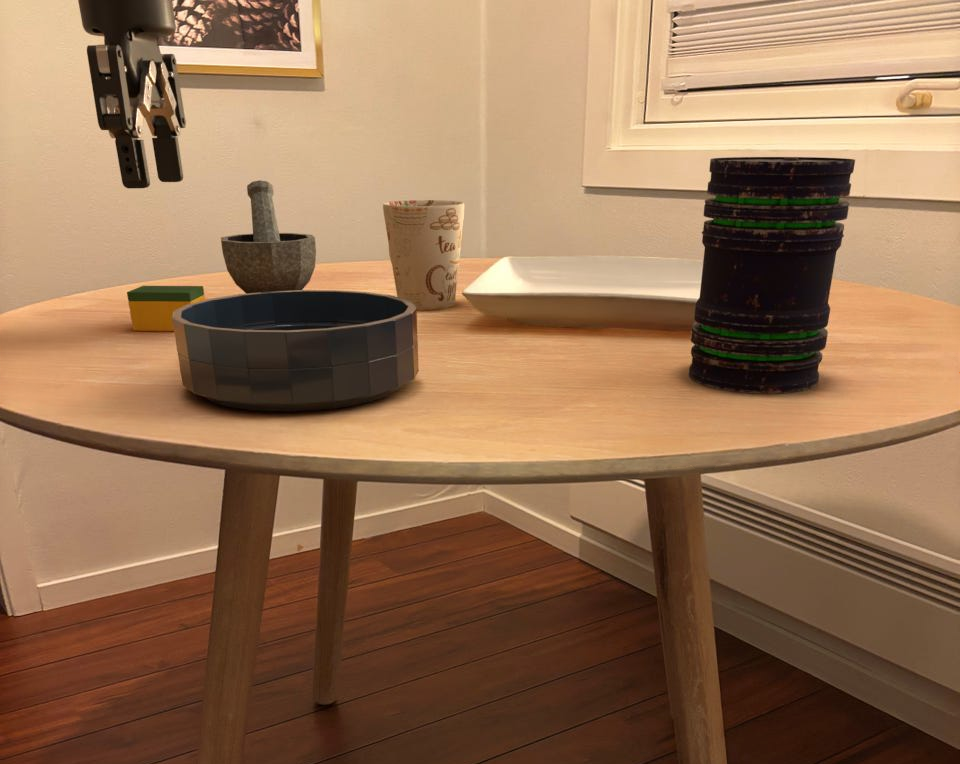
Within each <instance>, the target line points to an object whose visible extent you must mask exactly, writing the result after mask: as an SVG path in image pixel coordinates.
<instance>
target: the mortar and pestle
mask: <svg viewBox="0 0 960 764" xmlns="http://www.w3.org/2000/svg"><path fill="white" fill-rule="evenodd" d="M246 191H247V197H248V198H249V199H250V207H251V208H250V210H251V221H252V222H251V223H252V233H242V234H233V235H228V236H222V237H220V243H221V250H222V256H223V259H224V263H225V266H226V270H227V273H229V276H230V278H231V279H232V281H233V282H234V284H235V285H236V286H237V287H238V288H239V289H240V290H242V291H243V292H244V294H248V293H259V292H271V291H293V290H304V289H305V288H306V286H307V285H308V284H309V283H310V282H311V279H312V276H313V273H314V271H315V268H316V261H317V260H316V259H317V258H316V257H317V247H316V237H315V236H314V235H313V234H309V233H308V234H307V233H298V232H297V233H296V232H280V231H279V226H278V221H277V215H276V210H275V205H274V200H273V197H274V185H273V184H272V183H270V182H268V181H267V180H260V179H259V180H254V181H251V182H250V183H249V184H247V185H246Z"/></svg>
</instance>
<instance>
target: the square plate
mask: <svg viewBox="0 0 960 764" xmlns="http://www.w3.org/2000/svg"><path fill="white" fill-rule="evenodd" d="M703 260H704V259H691V258H675V257H673V258H672V257H660V256H659V257H657V256H635V255H634V256H633V255H632V256H629V255H555V256H554V255H552V256H551V255H549V256H547V255H546V256H504V257H502V258H500V259H499V260H498V261H495V262H494V263H493V264H492V265H490V266H489V267H487V269H486V270H484V271H483V272H482V273H481V274H480V275H479V276H477V277H476V278H475V279H474V280H473V281H471V283H469V284H468V285H467V286H466V287H465V288H464V289H463V290H462V291H461V295H462V296H463V297H464V298H465V299H466V300H467V302H469V304H470V305H471V306H472V307H473V308H474V309H475V310H476V311H478V312H479V313H481V314H483V315H486V316H487V317H491V318H498V319H505V320H507V321H509V322H511V323H514V324H519V325H526V326H534V327H552V328H553V327H556V328H587V329H588V328H589V329H615V330H639V331H658V332H692V325H693V324H694V323H696V321H695V320H694V316H695V306H696V302H697V300H698V299H699V298H700V289H701V279H702V269H703Z"/></svg>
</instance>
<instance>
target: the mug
mask: <svg viewBox="0 0 960 764" xmlns="http://www.w3.org/2000/svg"><path fill="white" fill-rule="evenodd" d="M382 210H383V219H384V223H385V224H384V225H385V231H386V235H387V242H388V254H389V259H390V264H391V266H392V273H393V279H394V285H395V291H396V292H395V293H396V297H399V298H402V299H406V300H409V301H411V302H412V303H413V304H414V305H415V306H416V307H417V311H418V310H421V311H424V310H425V311H428V310H429V311H430V310H442V309H448V308H451V307H453V306H454V305H455V303H456V296H457V288H458V287H457V285H458V278H459V277H458V276H459V267H460V256H461V247H462V238H463V228H464V220H465V219H464V218H465V202H463V201H459V200H443V199H440V200H439V199H428V200H427V199H416V200H415V199H414V200H396V201H395V200H394V201H386V202H383V204H382Z"/></svg>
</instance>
